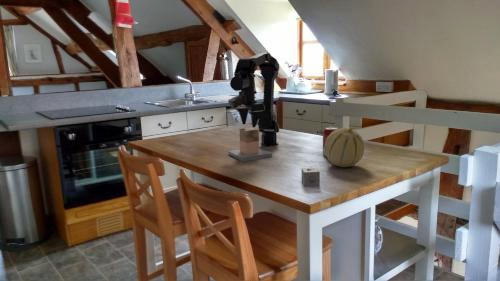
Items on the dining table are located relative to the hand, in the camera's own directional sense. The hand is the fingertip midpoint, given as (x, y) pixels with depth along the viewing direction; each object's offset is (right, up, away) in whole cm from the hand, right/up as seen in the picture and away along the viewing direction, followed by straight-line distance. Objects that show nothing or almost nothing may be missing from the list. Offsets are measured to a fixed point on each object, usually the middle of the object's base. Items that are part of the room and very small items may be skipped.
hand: (248, 125), depth 166 cm
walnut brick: (0, -6, +1) cm, 7 cm away
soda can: (+34, -13, -2) cm, 37 cm away
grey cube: (+20, -21, -38) cm, 48 cm away
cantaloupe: (+36, -16, -18) cm, 43 cm away
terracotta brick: (0, -11, +2) cm, 12 cm away
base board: (0, -13, +3) cm, 13 cm away
